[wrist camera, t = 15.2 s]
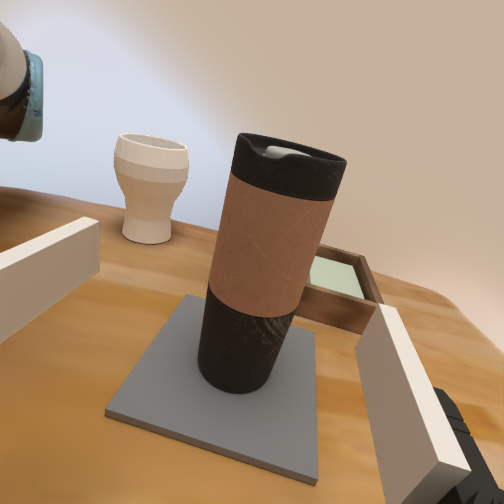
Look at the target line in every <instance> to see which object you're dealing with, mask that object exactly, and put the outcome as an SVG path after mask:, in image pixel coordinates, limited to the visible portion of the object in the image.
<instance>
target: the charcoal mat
mask: <svg viewBox="0 0 504 504" xmlns="http://www.w3.org/2000/svg"><path fill="white" fill-rule="evenodd" d="M205 302H206V300H205V299H202V298H199V297H196V296H192V295H189V294H186V295H185V297H184V298H183V300H182V301H181V302H180V304H179V305H178V307H177V308H176V310H175V311H174V312H173V314H172V315H171V317H170V318H169V319H168V321H167V322H166V324H165V325H164V326H163V328H162V329H161V331H160V332H159V333H158V335H157V336H156V338H155V339H154V341H153V342H152V343H151V345H150V346H149V348H148V349H147V350H146V352H145V353H144V355H143V356H142V357H141V359H140V360H139V362H138V363H137V365H136V366H135V367H134V369H133V370H132V372H131V373H130V374H129V376H128V377H127V379H126V380H125V381H124V383H123V384H122V386H121V387H120V388H119V390H118V391H117V393H116V394H115V396H114V397H113V398H112V400H111V401H110V403H109V404H108V405H107V407H106V408H105V416H108V417H111V418H114V419H117V420H120V421H123V422H126V423H129V424H132V425H135V426H138V427H141V428H144V429H147V430H150V431H153V432H156V433H158V434H161V435H164V436H167V437H170V438H173V439H176V440H179V441H182V442H185V443H188V444H191V445H194V446H197V447H200V448H203V449H206V450H209V451H212V452H215V453H218V454H221V455H224V456H227V457H230V458H233V459H236V460H239V461H242V462H245V463H248V464H251V465H254V466H257V467H260V468H263V469H266V470H269V471H272V472H275V473H278V474H281V475H284V476H287V477H290V478H293V479H296V480H299V481H302V482H305V483H308V484H311V485H314V486H315V484H316V482H317V481H318V454H317V417H316V380H315V343H314V332H312V331H308V330H305V329H302V328H298V327H295V326H292V325H290V327H289V329H288V332H287V334H286V337H285V339H284V342H283V344H282V347H281V349H280V352H279V354H278V357H277V359H276V362H275V364H274V367H273V369H272V371H271V374H270V376H269V378H268V380H267V381H266V382H265V384H264V385H263V386H262V387H260V388H259V389H257V390H255V391H253V392H250V393H245V394H232V393H227V392H224V391H221V390H219V389H217V388H216V387H214V386H212V385H211V384H210V383H209V382H208V381H207V380H206V379H205V378H204V377H203V375H202V374H201V372H200V370H199V366H198V359H197V358H198V349H199V342H200V335H201V328H202V322H203V315H204V308H205Z"/></svg>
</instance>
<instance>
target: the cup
mask: <svg viewBox="0 0 504 504" xmlns="http://www.w3.org/2000/svg"><path fill="white" fill-rule="evenodd" d="M114 169H115V173H116V176H117V180H118V183H119V185H120V187H121V189H122V191H123V193H124V196H125V202H126V215H125V220H124V224H123V229H122V233H123V235H124V236H125V237H126V238H128V239H129V240H132V241H135V242H139V243H145V244H157V243H163V242H166V241H168V240H169V239H170V238H171V221H170V215H171V211H172V207H173V204H174V202H175V200H176V199H177V197H178V196H179V195H180V193H181V192H182V190H183V188H184V185H185V183H186V181H187V177H188V170H189V160H188V150H187V147H186V146H185V145H183V144H181V143H178V142H175V141H172V140H168V139H164V138H160V137H155V136H150V135H143V134H135V133H123V134H120V135H119V137H118V141H117V144H116V148H115V151H114Z"/></svg>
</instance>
